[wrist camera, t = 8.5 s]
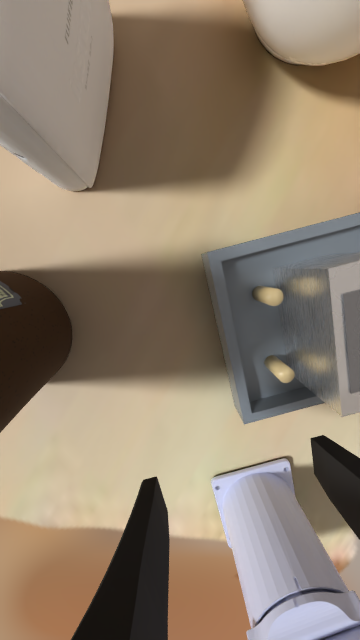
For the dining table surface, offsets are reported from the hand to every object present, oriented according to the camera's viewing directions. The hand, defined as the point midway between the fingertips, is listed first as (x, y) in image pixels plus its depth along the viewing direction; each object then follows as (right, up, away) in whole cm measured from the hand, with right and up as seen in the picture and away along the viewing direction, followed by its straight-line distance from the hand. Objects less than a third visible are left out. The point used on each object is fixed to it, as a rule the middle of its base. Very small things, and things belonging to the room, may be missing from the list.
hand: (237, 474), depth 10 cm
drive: (+8, +7, +8) cm, 13 cm away
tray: (+8, +7, +9) cm, 14 cm away
